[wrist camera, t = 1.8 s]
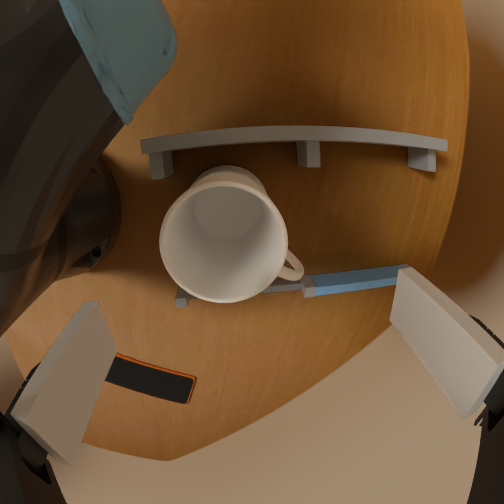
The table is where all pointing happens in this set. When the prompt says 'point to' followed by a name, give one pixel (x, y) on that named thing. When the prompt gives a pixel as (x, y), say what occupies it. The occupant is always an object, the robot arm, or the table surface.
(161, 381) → the smartphone
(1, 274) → the robot arm
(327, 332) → the table surface
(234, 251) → the mug
